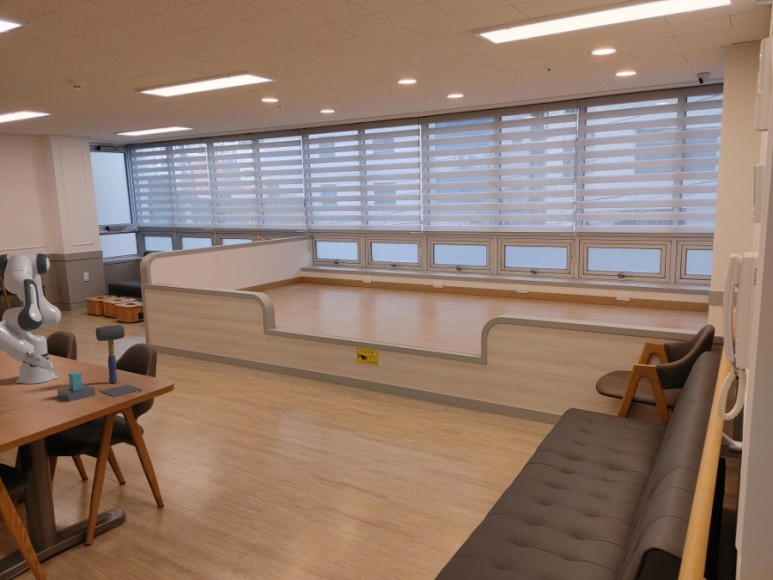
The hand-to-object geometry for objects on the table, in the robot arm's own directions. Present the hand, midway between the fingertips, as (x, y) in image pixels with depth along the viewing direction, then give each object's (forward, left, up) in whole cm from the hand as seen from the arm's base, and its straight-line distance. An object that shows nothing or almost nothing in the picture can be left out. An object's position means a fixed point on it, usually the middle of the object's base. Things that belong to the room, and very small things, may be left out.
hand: (48, 368), depth 261 cm
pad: (-3, +30, -16) cm, 34 cm away
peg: (-4, +11, -16) cm, 19 cm away
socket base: (-4, +11, -16) cm, 20 cm away
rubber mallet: (-21, +28, -16) cm, 38 cm away
